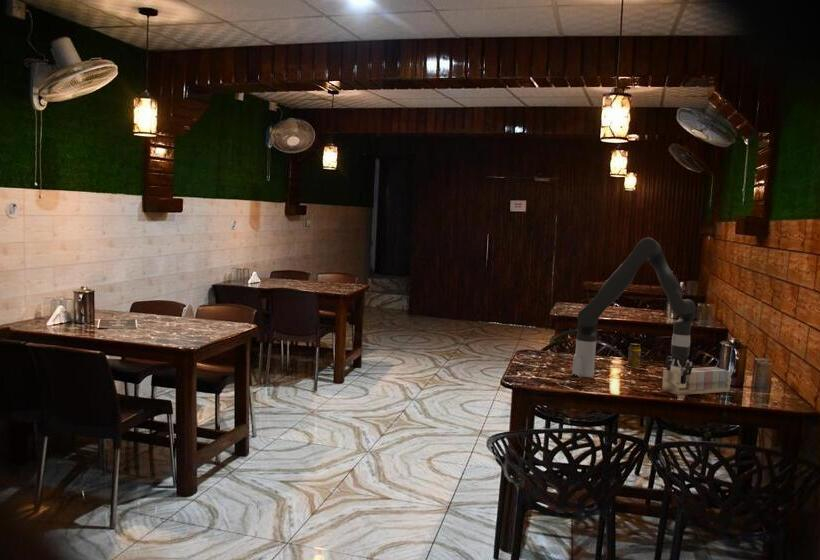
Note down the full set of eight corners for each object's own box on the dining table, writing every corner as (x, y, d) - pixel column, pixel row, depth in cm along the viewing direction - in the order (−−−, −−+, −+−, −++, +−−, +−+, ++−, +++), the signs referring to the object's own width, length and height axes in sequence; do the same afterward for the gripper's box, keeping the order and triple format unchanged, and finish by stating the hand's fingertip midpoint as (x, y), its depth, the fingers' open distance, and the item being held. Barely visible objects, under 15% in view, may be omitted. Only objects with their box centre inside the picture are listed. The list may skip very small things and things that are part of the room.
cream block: (678, 388, 285) (680, 368, 284) (669, 385, 290) (670, 365, 289) (685, 387, 286) (687, 367, 285) (676, 384, 291) (678, 365, 291)
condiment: (642, 368, 338) (644, 345, 337) (627, 367, 336) (629, 345, 335) (636, 365, 345) (637, 342, 344) (621, 364, 344) (622, 342, 343)
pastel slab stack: (729, 391, 293) (730, 370, 292) (676, 394, 282) (678, 373, 282) (713, 386, 301) (715, 366, 301) (661, 389, 291) (663, 368, 290)
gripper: (662, 341, 292) (659, 378, 293) (686, 347, 278) (683, 386, 280) (675, 341, 294) (672, 378, 296) (699, 347, 281) (696, 385, 282)
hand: (677, 382), depth 288 cm, fingers closed on cream block, 5 cm apart
